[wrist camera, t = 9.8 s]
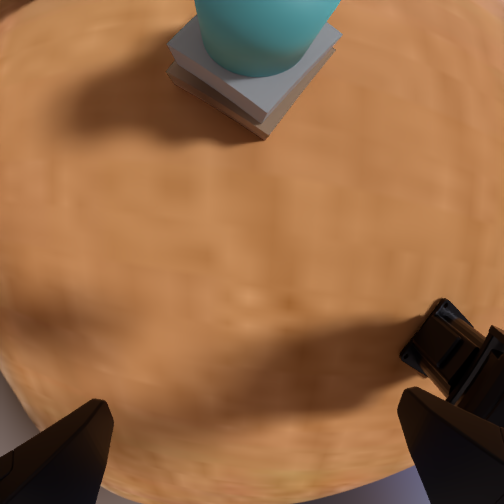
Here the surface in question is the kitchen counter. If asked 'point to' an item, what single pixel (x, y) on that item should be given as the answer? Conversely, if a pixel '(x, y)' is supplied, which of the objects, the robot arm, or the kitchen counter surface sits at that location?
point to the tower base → (232, 110)
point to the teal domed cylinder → (260, 32)
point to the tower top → (243, 87)
